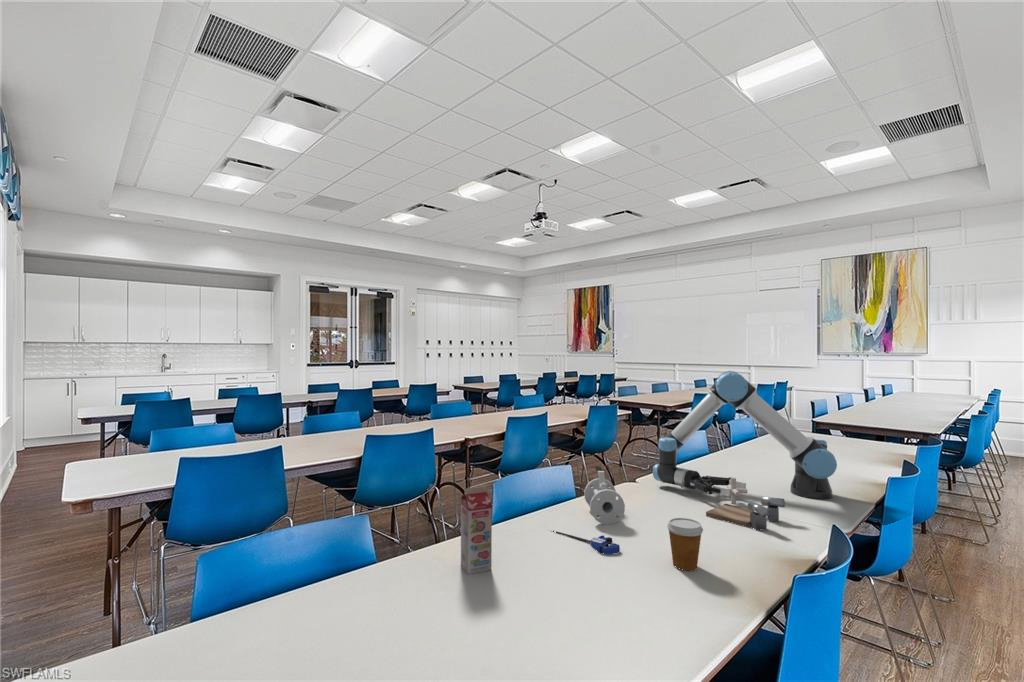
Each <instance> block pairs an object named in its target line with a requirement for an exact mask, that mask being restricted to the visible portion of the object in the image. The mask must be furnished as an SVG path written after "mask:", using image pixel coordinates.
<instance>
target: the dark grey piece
mask: <svg viewBox="0 0 1024 682" xmlns="http://www.w3.org/2000/svg"><path fill="white" fill-rule="evenodd" d="M747 509H749V510H751V511H753V512H750V526H749V528H751V527H752V528H751V529H753V528H754V529H756V530H755V531H761V530H760V529H767V528H768V527H767V524H768V523H767V520H768V518H767V516H768V515H769V510H768V509H767V507H766V506H762V504H759V503H756V502H754V501H749V502H748V503H747ZM754 529H753V530H754Z"/></svg>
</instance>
